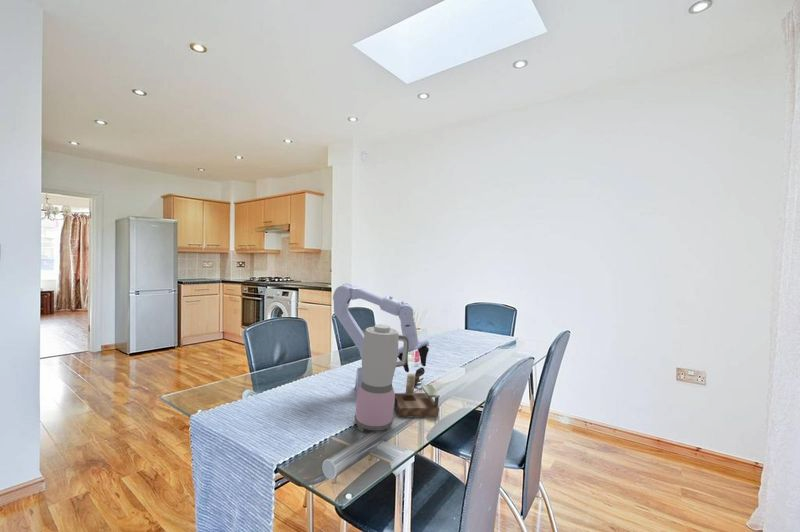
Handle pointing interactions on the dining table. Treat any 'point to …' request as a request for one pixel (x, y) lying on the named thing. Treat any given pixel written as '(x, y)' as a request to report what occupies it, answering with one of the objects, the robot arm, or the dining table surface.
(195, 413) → the dining table surface
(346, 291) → the robot arm
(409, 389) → the peg
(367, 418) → the blender
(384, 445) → the dining table surface
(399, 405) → the socket deck
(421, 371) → the eagle figurine
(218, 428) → the dining table surface
